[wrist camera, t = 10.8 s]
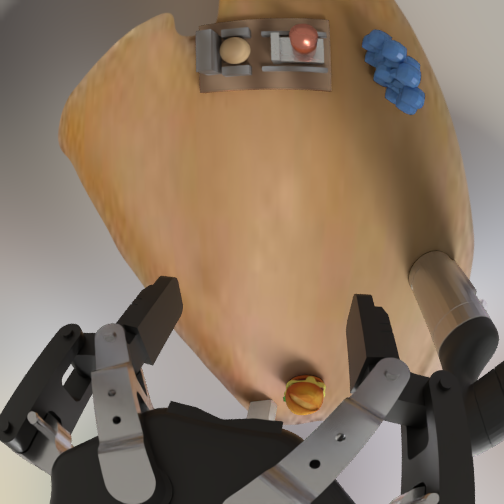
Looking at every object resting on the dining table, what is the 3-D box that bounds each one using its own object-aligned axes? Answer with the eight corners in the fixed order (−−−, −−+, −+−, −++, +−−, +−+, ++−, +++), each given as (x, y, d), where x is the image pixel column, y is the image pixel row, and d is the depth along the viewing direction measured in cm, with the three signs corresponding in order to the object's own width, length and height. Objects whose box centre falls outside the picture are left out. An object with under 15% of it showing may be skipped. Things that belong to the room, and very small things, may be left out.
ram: (322, 39, 27) (326, 21, 20) (323, 65, 28) (328, 52, 21) (273, 38, 28) (264, 20, 21) (274, 64, 30) (265, 51, 23)
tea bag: (250, 401, 70) (243, 431, 61) (271, 399, 67) (266, 430, 58) (256, 407, 71) (250, 436, 62) (277, 405, 68) (272, 435, 60)
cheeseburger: (287, 395, 65) (281, 422, 55) (284, 365, 62) (278, 392, 53) (325, 395, 62) (323, 423, 53) (326, 364, 60) (325, 392, 50)
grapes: (420, 106, 29) (460, 108, 19) (381, 118, 32) (411, 121, 21) (387, 35, 25) (415, 10, 15) (346, 45, 28) (363, 19, 17)
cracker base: (327, 23, 26) (331, 8, 21) (330, 91, 32) (334, 87, 26) (202, 28, 29) (186, 17, 24) (203, 93, 35) (187, 90, 29)
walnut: (252, 40, 28) (246, 32, 25) (253, 65, 30) (247, 60, 27) (224, 42, 29) (215, 35, 26) (224, 67, 31) (215, 62, 28)
